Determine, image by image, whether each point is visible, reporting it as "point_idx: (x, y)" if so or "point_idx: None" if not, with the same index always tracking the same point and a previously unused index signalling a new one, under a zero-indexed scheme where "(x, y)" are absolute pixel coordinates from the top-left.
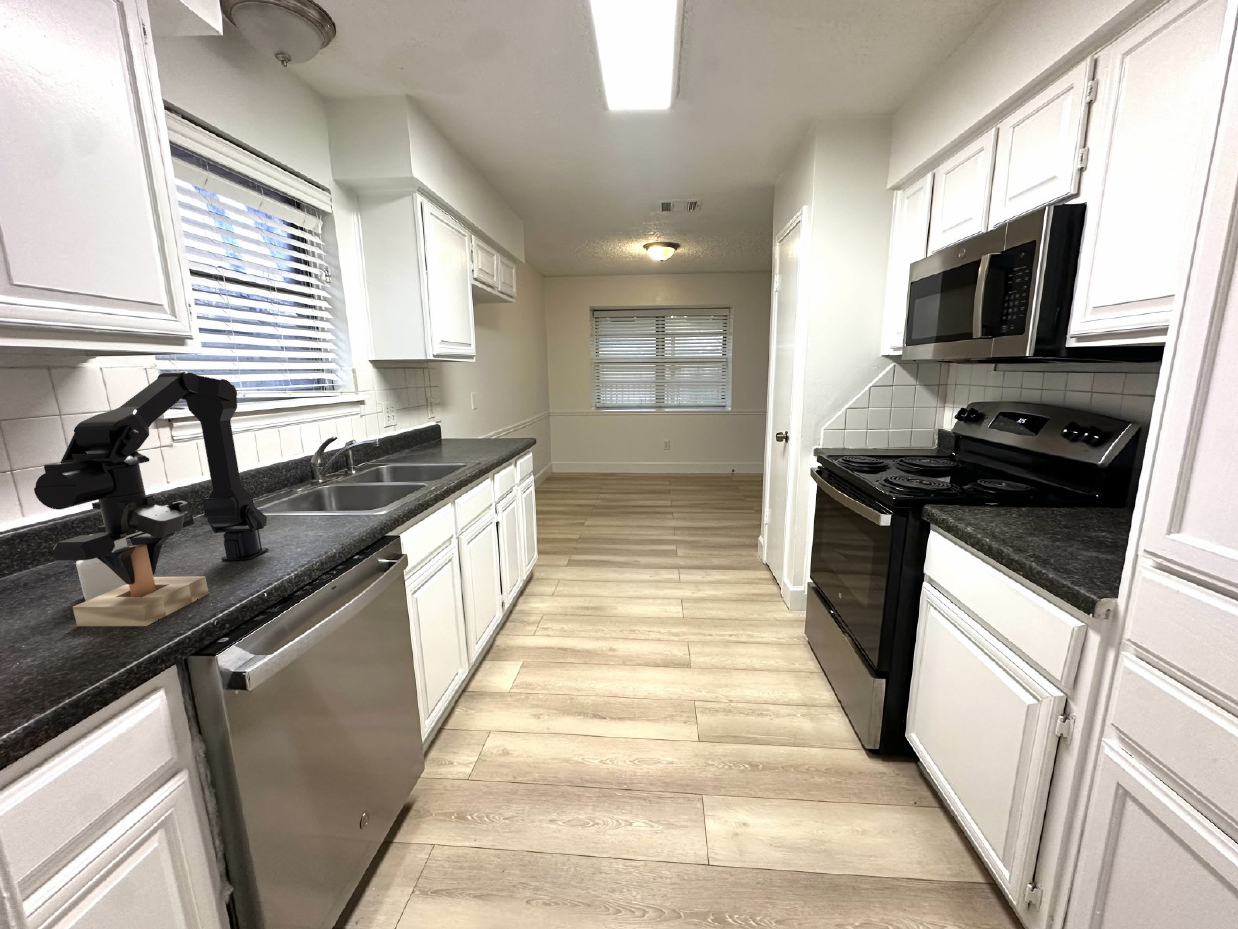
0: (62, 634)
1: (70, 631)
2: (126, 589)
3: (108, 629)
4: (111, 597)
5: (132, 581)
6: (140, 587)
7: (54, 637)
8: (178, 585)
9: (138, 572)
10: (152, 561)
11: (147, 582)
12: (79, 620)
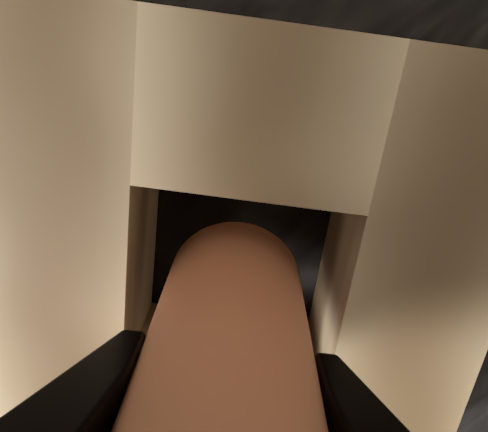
0: (461, 419)
1: None
2: None
3: None
4: None
5: (345, 365)
6: (297, 299)
7: (484, 427)
8: (158, 87)
9: (307, 390)
10: (90, 422)
11: (259, 284)
12: None
